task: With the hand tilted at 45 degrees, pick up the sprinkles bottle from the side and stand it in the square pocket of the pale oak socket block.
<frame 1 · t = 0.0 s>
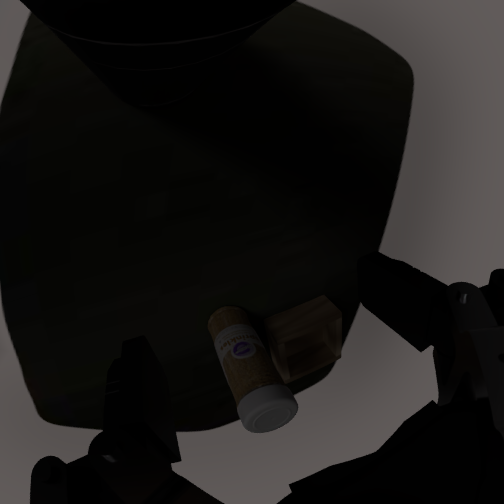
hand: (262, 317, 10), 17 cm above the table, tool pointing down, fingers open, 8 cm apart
oak socket block: (297, 330, 35), on the table
sprinkles bottle: (226, 320, 31), on the table
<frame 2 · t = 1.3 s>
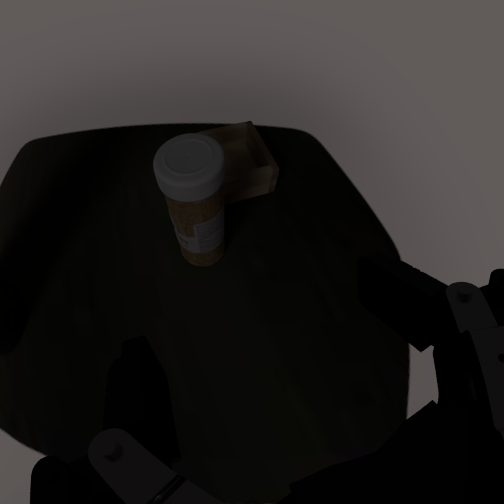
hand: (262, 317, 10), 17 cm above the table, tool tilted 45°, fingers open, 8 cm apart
oak socket block: (229, 173, 33), on the table
sprinkles bottle: (203, 248, 29), on the table
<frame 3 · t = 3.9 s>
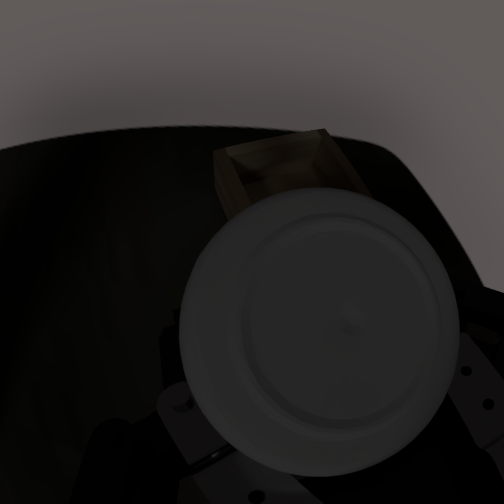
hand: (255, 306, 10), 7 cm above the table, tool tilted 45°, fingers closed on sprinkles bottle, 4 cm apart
oak socket block: (288, 218, 20), on the table
sprinkles bottle: (257, 361, 16), on the table, touching gripper
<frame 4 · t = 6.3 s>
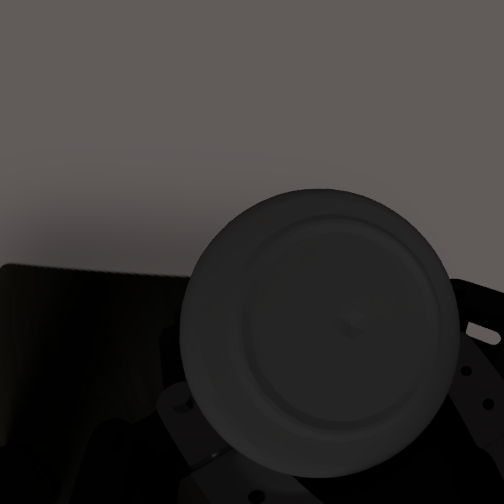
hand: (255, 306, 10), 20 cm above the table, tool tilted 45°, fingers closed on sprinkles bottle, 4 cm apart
sprinkles bottle: (257, 362, 16), point 13 cm above the table, touching gripper
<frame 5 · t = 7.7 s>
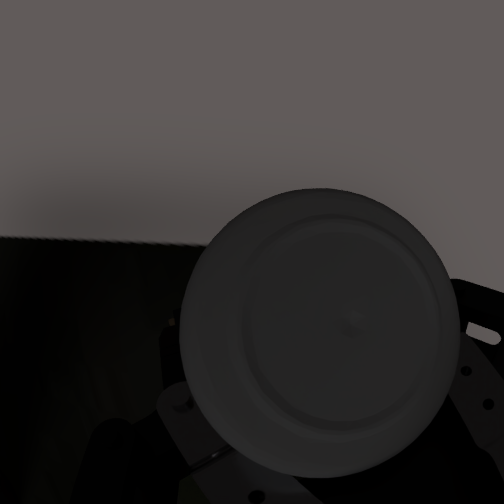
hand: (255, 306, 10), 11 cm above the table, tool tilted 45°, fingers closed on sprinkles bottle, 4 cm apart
sprinkles bottle: (257, 361, 16), point 4 cm above the table, touching gripper
when the fingers open (8 cm above the table, at t = 8.8 s): sprinkles bottle stays where it is, resting on oak socket block.
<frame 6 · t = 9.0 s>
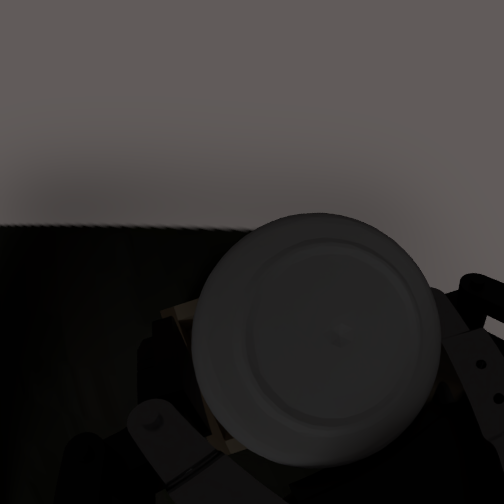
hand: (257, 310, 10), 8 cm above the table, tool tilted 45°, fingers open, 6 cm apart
oak socket block: (256, 362, 17), on the table
sprinkles bottle: (258, 365, 16), resting on oak socket block
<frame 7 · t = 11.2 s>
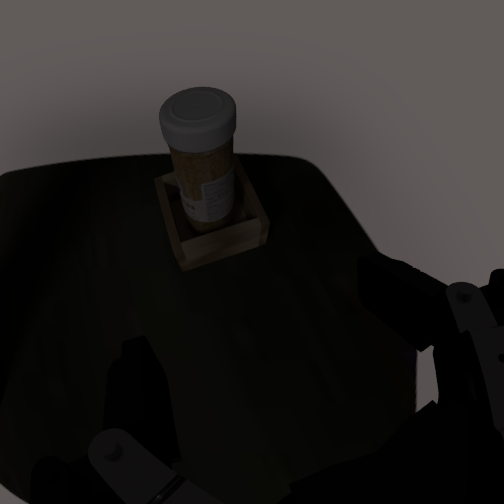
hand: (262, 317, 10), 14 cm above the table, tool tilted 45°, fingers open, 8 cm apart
oak socket block: (211, 221, 28), on the table
sprinkles bottle: (211, 221, 27), resting on oak socket block
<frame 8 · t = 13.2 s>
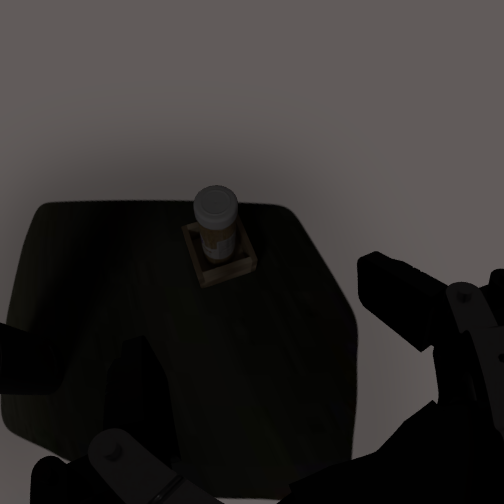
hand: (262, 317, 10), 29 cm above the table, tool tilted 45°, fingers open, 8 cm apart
oak socket block: (219, 254, 42), on the table
sprinkles bottle: (219, 254, 41), resting on oak socket block
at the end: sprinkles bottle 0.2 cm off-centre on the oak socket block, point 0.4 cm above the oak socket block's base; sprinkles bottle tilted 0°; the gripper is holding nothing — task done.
